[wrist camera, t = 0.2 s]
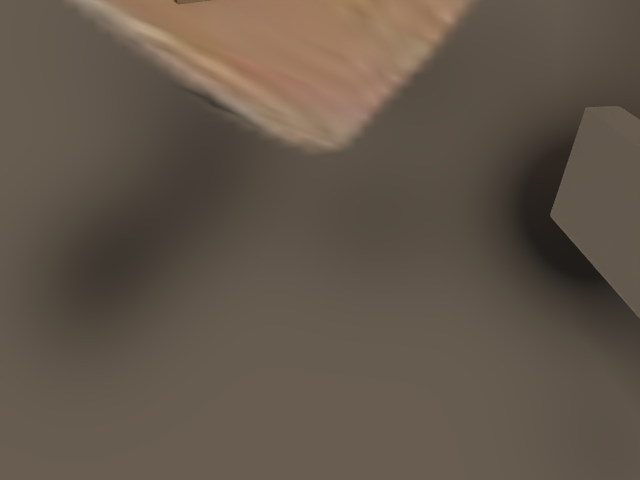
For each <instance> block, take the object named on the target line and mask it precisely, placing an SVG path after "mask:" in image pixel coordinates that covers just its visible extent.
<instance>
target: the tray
mask: <svg viewBox="0 0 640 480" xmlns="http://www.w3.org/2000/svg"><path fill="white" fill-rule="evenodd" d="M202 1H210V0H177V3H178V4H184V3H193V2H202Z"/></svg>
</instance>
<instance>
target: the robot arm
mask: <svg viewBox="0 0 640 480" xmlns="http://www.w3.org/2000/svg"><path fill="white" fill-rule="evenodd" d="M550 216H551V217H552V219H553V220H554V221H555V222H556V223H557V224H558V225H559V227H560V228H561V229H562V230H563V231H564V232H565V233H566V235H567V236H568V237H569V238H570V239H571V240H572V241H573V243H574V244H575V245H576V246H577V247H578V248H579V250H580V251H581V252H582V253H583V254H584V255H585V256H586V258H587V259H588V260H589V261H590V262H591V263H592V264H593V265H594V267H595V268H596V269H597V270H598V271H599V272H600V273H601V275H602V276H603V277H604V278H605V279H606V280H607V281H608V283H609V284H610V285H611V286H612V287H613V288H614V289H615V291H616V292H617V293H618V294H619V295H620V296H621V298H622V299H623V300H624V301H625V302H626V303H627V304H628V306H629V307H630V308H631V309H632V310H633V311H634V312H635V314H636V315H637V316H638V317H639V318H640V120H639V119H638V118H636V117H635V116H633V115H631V114H630V113H628V112H627V111H625V110H624V109H622V108H621V107H619V106H615V107H586V109H585V112H584V115H583V118H582V121H581V124H580V127H579V130H578V133H577V136H576V139H575V142H574V145H573V148H572V151H571V154H570V157H569V160H568V163H567V166H566V169H565V172H564V175H563V178H562V181H561V184H560V187H559V190H558V193H557V196H556V199H555V202H554V205H553V208H552V211H551V215H550Z"/></svg>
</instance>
